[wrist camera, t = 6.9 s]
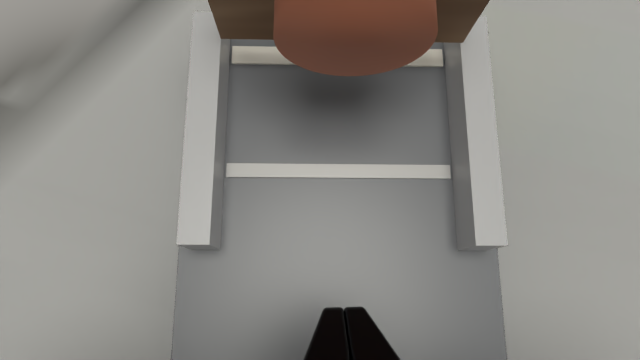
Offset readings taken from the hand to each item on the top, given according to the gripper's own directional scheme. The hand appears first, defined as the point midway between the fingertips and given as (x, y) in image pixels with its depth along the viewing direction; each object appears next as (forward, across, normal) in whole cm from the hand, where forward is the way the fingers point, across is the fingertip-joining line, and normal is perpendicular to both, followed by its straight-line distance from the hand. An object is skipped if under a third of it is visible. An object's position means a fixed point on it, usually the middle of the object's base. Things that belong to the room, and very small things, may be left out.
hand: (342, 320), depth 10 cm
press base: (+7, 0, +3) cm, 8 cm away
